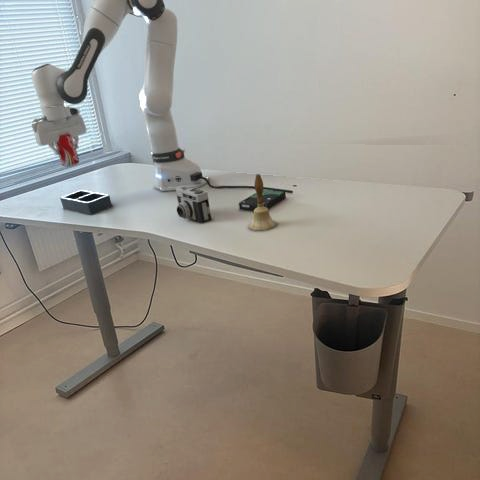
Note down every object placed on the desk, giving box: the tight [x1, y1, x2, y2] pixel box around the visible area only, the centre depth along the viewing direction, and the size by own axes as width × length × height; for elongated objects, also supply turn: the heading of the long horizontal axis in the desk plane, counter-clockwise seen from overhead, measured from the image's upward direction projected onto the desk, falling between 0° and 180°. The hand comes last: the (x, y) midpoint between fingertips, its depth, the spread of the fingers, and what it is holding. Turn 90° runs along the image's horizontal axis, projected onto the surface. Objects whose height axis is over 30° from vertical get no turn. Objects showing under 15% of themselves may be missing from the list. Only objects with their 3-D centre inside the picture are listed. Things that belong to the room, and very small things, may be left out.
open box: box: [59, 189, 113, 216], centre depth 194 cm, size 19×10×5 cm, turn 49°
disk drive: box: [238, 189, 287, 212], centre depth 171 cm, size 10×3×15 cm
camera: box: [175, 186, 212, 224], centre depth 165 cm, size 14×8×10 cm, turn 37°
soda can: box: [54, 132, 80, 168], centre depth 190 cm, size 7×7×12 cm
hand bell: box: [249, 173, 277, 232], centre depth 150 cm, size 8×8×16 cm
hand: (67, 151), depth 190 cm, fingers closed on soda can, 7 cm apart
